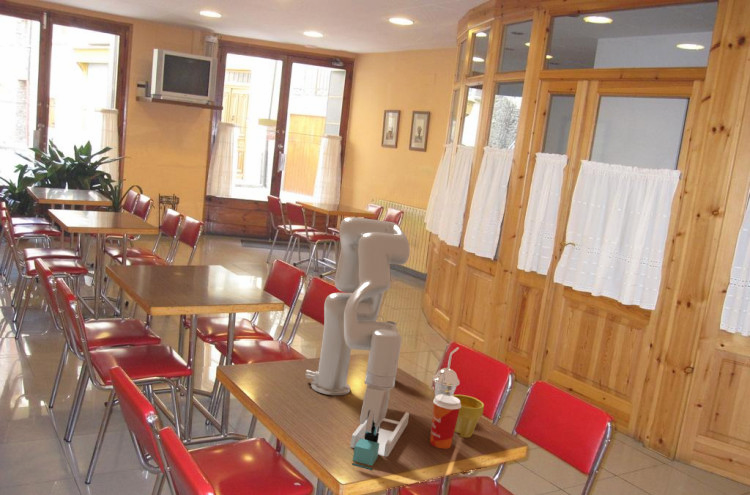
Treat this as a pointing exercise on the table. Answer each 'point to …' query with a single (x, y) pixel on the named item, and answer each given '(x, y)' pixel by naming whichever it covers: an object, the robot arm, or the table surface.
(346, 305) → the robot arm
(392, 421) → the trap channel
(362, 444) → the teal block
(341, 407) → the table surface
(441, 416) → the paper cup
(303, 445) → the table surface
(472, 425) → the plant pot
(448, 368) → the cup with straw
